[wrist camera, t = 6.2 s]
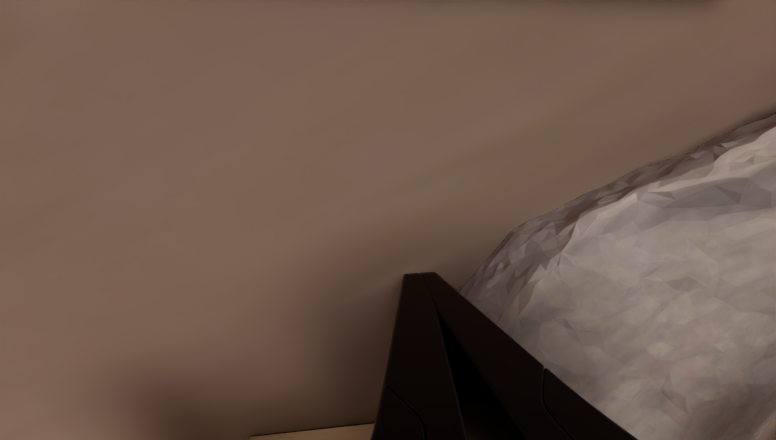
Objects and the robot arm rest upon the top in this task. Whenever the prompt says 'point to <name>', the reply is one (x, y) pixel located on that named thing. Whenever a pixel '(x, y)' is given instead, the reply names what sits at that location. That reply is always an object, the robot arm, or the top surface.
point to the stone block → (655, 292)
